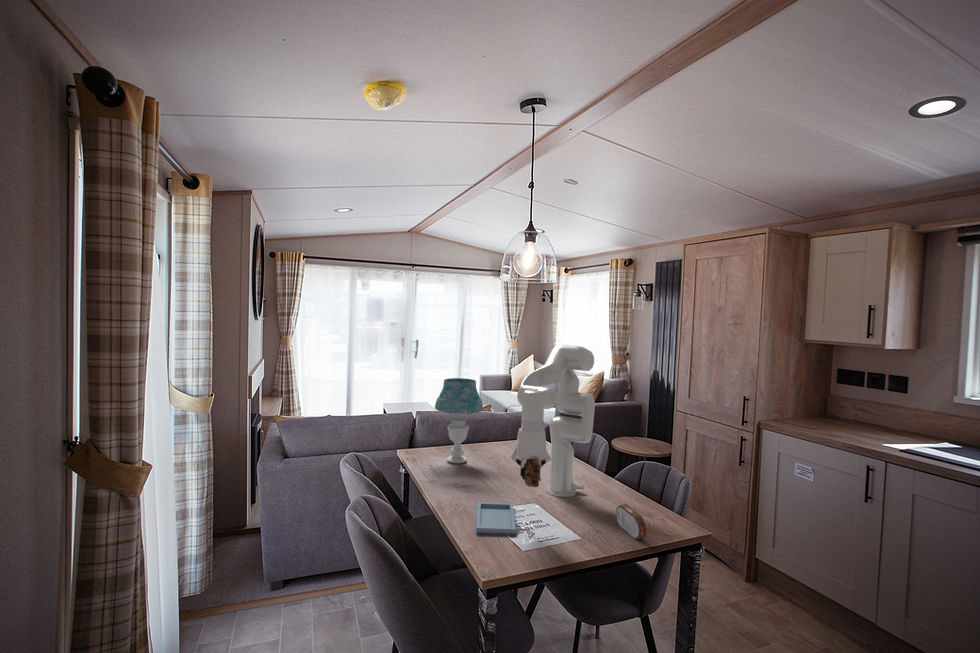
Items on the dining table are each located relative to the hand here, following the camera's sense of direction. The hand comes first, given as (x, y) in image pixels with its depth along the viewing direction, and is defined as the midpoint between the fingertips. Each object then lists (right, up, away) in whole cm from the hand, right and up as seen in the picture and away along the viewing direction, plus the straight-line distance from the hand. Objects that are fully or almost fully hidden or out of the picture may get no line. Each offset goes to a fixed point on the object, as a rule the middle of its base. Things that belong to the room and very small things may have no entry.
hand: (530, 477), depth 161 cm
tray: (-12, -17, +4) cm, 21 cm away
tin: (+34, -19, -1) cm, 39 cm away
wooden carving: (0, -3, 0) cm, 3 cm away
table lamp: (-30, -14, +70) cm, 78 cm away
